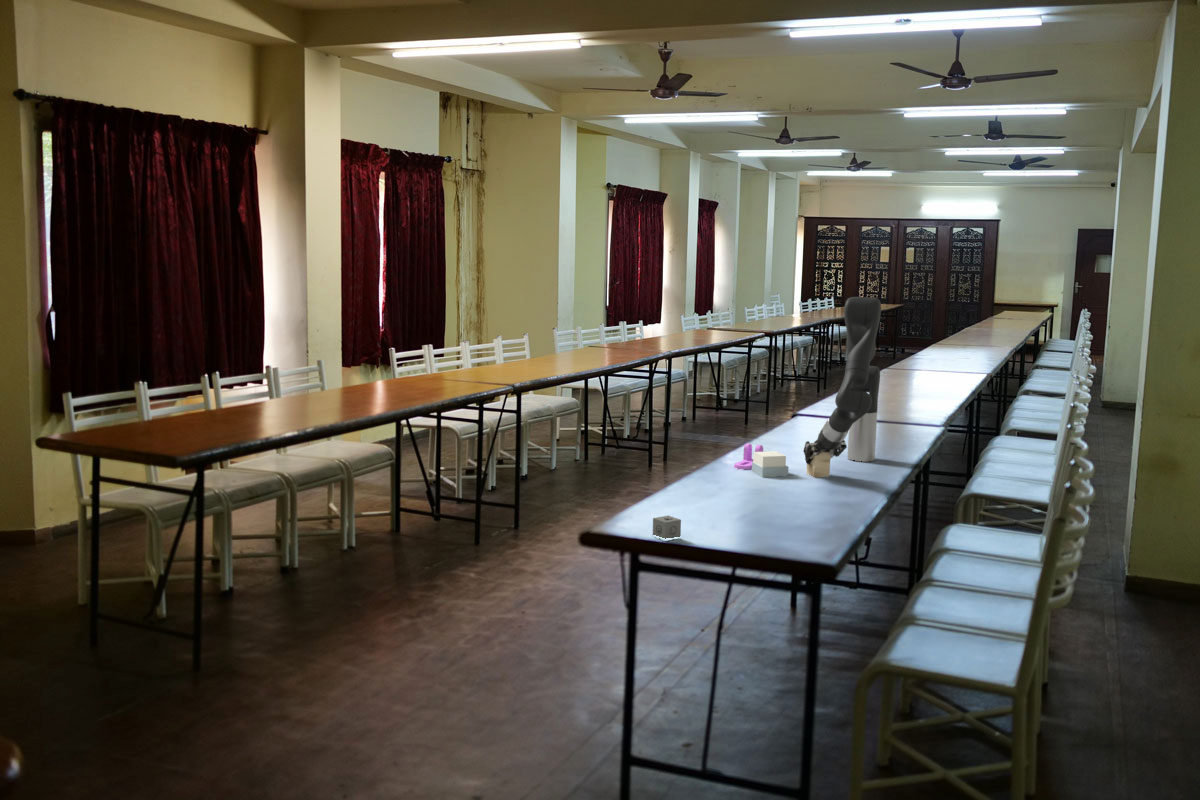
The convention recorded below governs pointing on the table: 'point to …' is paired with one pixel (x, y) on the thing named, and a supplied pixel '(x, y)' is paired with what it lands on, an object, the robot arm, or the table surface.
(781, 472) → the tower base
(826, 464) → the maple pillar
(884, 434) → the table surface
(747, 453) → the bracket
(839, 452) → the robot arm
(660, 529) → the dice cube
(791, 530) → the table surface
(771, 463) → the tower top
